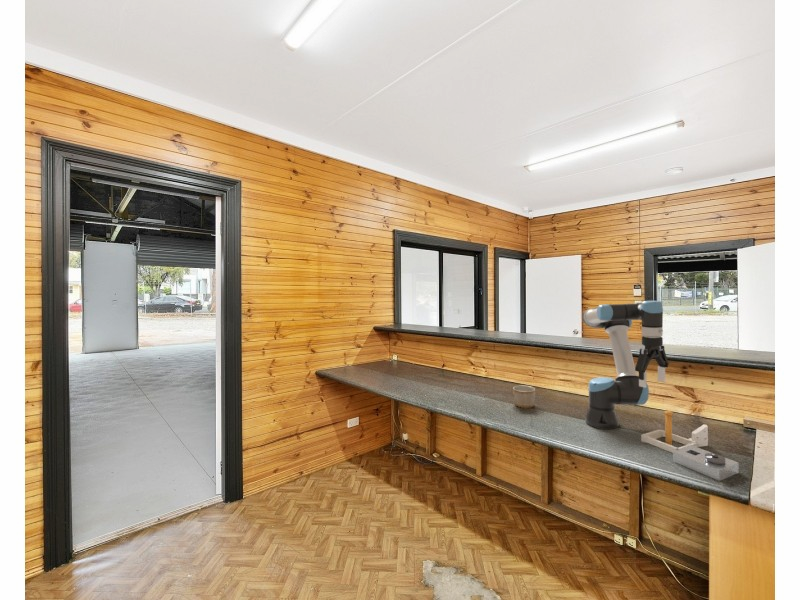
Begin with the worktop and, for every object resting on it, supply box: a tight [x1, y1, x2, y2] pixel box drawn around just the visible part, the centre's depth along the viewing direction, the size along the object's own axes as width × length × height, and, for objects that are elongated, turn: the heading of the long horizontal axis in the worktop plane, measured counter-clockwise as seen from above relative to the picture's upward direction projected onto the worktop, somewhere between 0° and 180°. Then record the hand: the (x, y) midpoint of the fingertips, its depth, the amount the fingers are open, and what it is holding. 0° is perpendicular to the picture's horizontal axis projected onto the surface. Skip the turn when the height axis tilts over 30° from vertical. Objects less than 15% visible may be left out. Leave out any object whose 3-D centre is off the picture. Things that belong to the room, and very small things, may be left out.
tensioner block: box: [672, 445, 740, 482], centre depth 144 cm, size 16×12×8 cm
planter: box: [512, 384, 536, 409], centre depth 222 cm, size 13×13×10 cm
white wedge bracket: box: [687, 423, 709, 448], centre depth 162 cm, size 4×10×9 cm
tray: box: [640, 428, 699, 454], centre depth 163 cm, size 16×13×4 cm
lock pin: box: [663, 410, 674, 446], centre depth 163 cm, size 3×3×15 cm
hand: (652, 384), depth 161 cm, fingers open, 13 cm apart
